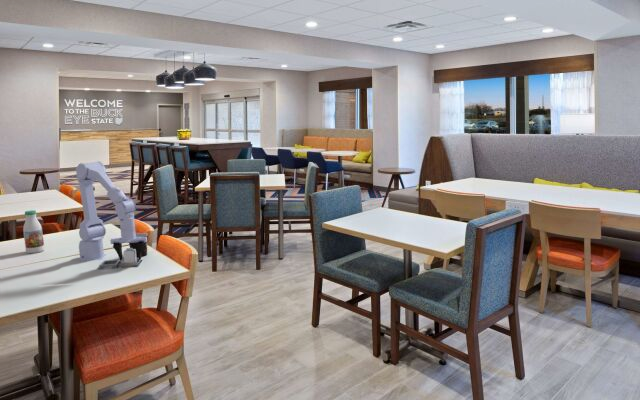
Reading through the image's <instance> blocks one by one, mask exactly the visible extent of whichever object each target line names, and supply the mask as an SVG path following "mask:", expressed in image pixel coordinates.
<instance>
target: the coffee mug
mask: <svg viewBox="0 0 640 400" xmlns="http://www.w3.org/2000/svg"><path fill="white" fill-rule="evenodd" d="M136 237H147V242H145V244H144V247H143V250H142V255H141V258H143V257H146V256H147V255H148V237H149V234H148V233H145V232H144V233H143V232H140V233H138V232H137V233H136ZM137 243H138V242H134V243H128V245H129V248H133V249H136V258H137V259H139V258H138V248H137Z"/></svg>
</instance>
